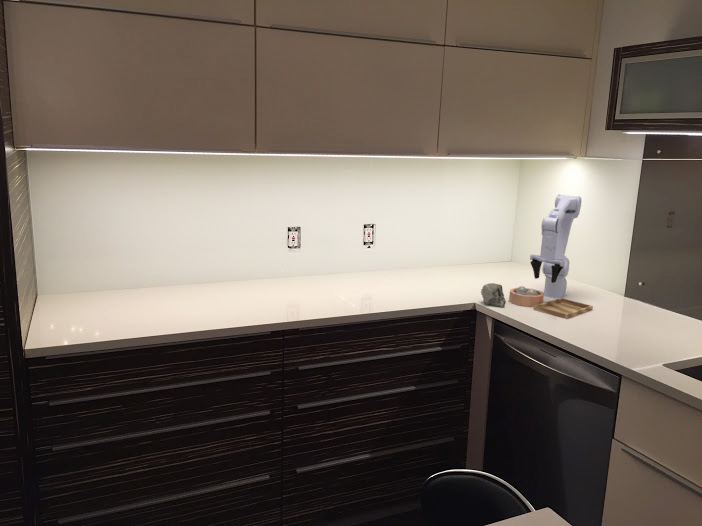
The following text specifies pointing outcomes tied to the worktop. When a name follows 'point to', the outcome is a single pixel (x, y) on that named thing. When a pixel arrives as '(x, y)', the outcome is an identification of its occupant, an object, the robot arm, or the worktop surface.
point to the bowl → (525, 298)
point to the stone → (493, 294)
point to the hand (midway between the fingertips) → (545, 280)
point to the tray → (563, 308)
